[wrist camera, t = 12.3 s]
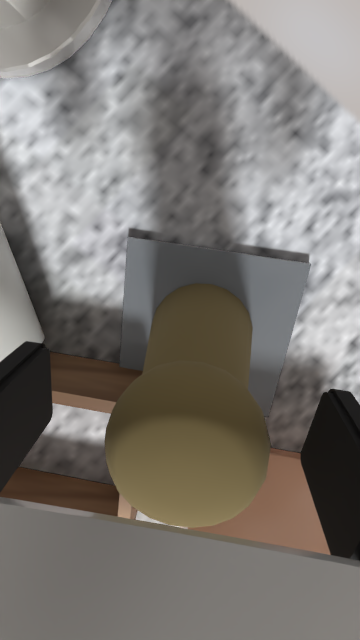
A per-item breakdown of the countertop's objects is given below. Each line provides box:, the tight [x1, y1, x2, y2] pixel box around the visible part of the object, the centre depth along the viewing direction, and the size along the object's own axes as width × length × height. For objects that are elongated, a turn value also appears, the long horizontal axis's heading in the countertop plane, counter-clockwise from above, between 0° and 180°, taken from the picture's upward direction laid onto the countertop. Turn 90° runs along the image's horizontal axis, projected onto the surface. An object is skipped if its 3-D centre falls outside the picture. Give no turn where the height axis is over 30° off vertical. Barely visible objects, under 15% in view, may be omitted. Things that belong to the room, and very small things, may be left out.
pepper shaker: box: [105, 283, 271, 528], centre depth 14 cm, size 6×6×11 cm
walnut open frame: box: [0, 352, 143, 520], centre depth 21 cm, size 12×15×4 cm
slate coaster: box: [119, 237, 311, 417], centre depth 19 cm, size 10×10×1 cm
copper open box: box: [180, 448, 331, 555], centre depth 20 cm, size 9×9×7 cm
